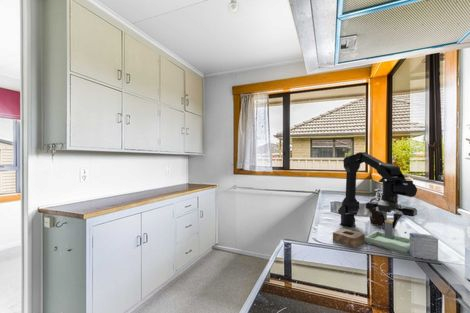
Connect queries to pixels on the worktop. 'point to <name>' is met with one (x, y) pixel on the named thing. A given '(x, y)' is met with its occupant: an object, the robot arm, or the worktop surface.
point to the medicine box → (423, 246)
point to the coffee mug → (375, 217)
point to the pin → (389, 229)
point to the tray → (388, 242)
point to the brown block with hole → (348, 237)
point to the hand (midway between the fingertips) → (389, 227)
